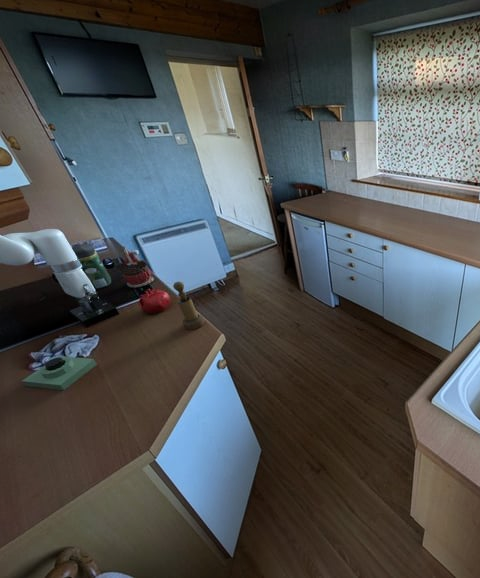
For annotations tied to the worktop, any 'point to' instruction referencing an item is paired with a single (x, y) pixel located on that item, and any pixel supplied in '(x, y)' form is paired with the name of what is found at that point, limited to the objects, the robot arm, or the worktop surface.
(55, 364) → the button
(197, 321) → the mortar and pestle
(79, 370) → the button box
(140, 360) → the worktop surface
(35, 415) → the worktop surface
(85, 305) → the knob
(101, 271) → the coffee jar
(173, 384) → the worktop surface
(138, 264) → the cake
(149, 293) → the pomegranate
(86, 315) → the panel
